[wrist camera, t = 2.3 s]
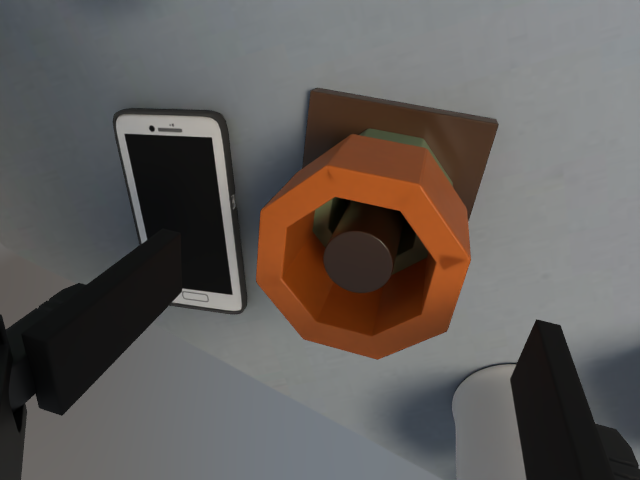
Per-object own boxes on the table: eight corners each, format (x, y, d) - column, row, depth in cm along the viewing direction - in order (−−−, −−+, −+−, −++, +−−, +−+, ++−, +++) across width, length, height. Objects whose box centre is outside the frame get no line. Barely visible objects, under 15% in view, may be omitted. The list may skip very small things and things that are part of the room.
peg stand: (316, 87, 26) (251, 123, 17) (496, 119, 24) (520, 175, 16) (298, 240, 30) (241, 325, 22) (448, 276, 29) (446, 382, 20)
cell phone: (159, 297, 36) (152, 304, 35) (118, 106, 29) (107, 109, 28) (250, 309, 34) (245, 317, 33) (227, 109, 27) (220, 113, 26)
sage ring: (331, 120, 25) (312, 138, 22) (463, 145, 24) (465, 168, 20) (316, 234, 28) (297, 265, 25) (430, 261, 27) (427, 297, 24)
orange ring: (301, 123, 21) (263, 152, 17) (482, 158, 20) (491, 198, 16) (286, 272, 25) (252, 325, 21) (436, 309, 24) (433, 375, 20)
